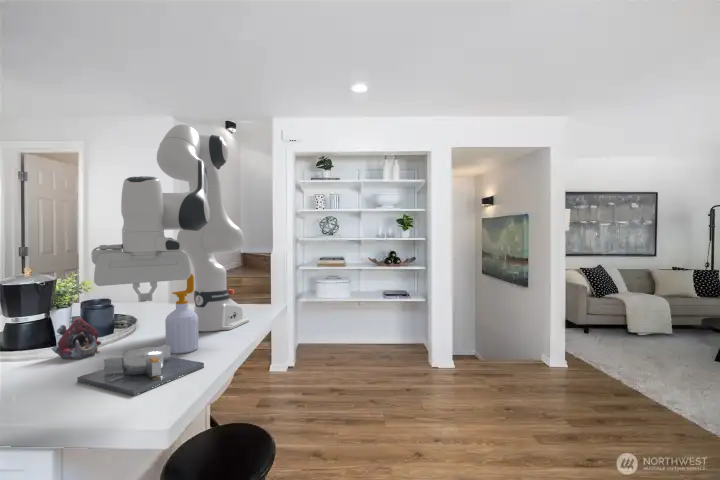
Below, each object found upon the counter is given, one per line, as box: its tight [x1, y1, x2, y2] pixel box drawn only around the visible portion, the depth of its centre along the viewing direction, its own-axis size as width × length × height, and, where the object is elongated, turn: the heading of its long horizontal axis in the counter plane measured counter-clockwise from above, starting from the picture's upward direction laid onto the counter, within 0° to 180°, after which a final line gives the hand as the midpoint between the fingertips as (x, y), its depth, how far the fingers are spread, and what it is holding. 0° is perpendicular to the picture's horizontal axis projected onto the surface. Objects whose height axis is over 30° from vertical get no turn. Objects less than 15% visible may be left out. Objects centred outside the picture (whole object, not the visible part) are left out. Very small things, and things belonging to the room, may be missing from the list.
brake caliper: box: [51, 317, 102, 360], centre depth 115 cm, size 11×11×12 cm
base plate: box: [76, 356, 205, 397], centre depth 99 cm, size 20×20×1 cm
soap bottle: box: [164, 273, 199, 355], centre depth 119 cm, size 9×9×25 cm
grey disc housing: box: [103, 344, 172, 377], centre depth 98 cm, size 14×16×4 cm
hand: (145, 301), depth 94 cm, fingers closed
